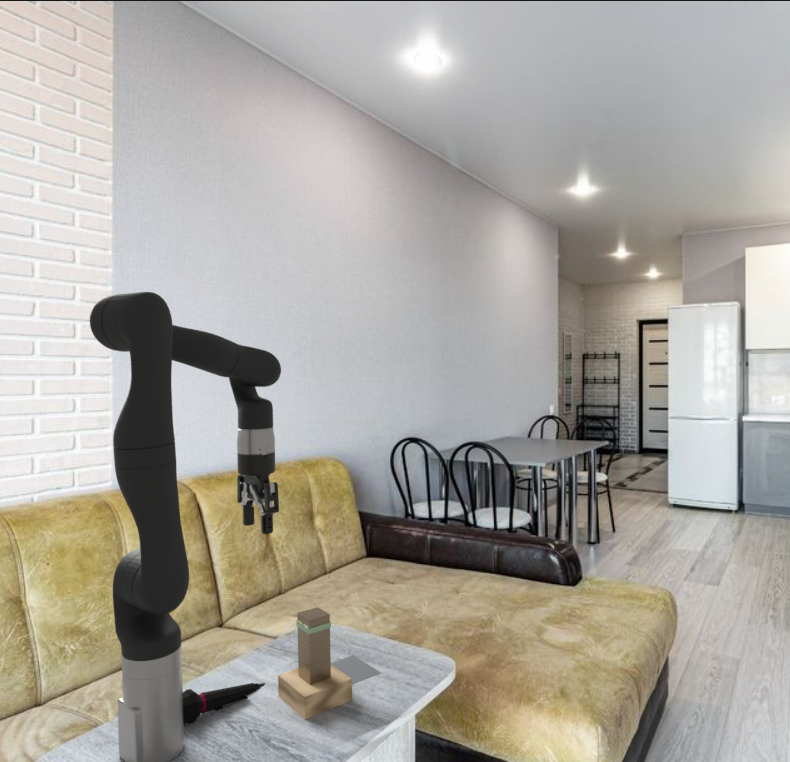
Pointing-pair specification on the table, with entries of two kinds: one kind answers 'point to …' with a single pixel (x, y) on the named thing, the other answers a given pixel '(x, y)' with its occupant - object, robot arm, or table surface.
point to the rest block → (314, 692)
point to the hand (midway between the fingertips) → (257, 529)
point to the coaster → (355, 668)
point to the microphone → (213, 700)
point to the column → (314, 645)
